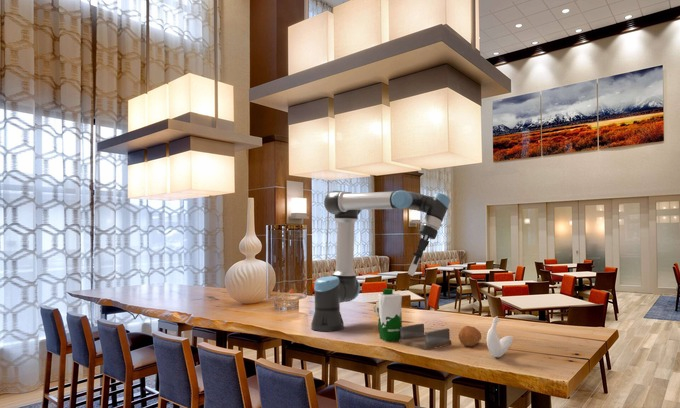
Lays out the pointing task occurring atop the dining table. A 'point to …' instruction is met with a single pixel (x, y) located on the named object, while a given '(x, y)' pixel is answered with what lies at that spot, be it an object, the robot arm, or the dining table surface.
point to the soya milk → (390, 315)
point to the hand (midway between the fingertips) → (410, 273)
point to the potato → (469, 336)
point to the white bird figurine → (497, 341)
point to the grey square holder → (424, 337)
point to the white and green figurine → (376, 310)
